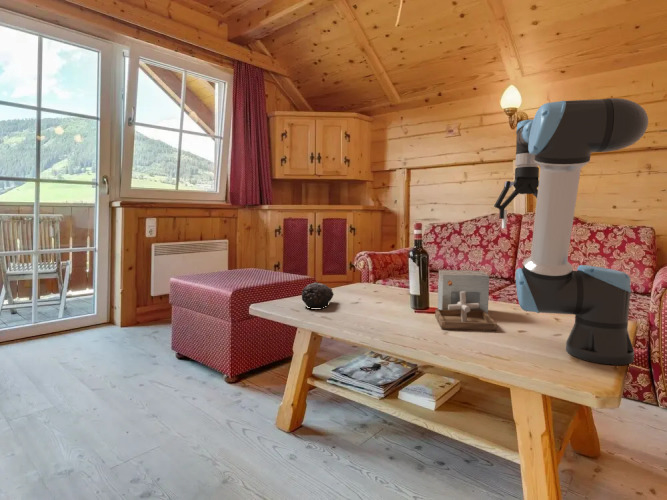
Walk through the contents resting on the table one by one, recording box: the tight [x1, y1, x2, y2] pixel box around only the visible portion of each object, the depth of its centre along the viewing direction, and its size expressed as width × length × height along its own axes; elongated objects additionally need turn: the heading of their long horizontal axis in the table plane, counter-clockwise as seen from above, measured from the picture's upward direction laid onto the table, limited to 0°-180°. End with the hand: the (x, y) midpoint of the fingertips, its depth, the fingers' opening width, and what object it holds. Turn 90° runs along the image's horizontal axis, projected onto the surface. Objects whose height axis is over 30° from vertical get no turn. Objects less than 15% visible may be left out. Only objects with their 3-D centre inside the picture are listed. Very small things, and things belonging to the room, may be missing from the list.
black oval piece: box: [301, 282, 334, 308], centre depth 164 cm, size 10×18×10 cm, turn 164°
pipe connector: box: [448, 292, 479, 322], centre depth 139 cm, size 10×10×10 cm
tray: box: [434, 308, 498, 333], centre depth 139 cm, size 17×17×2 cm
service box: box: [437, 269, 490, 315], centre depth 153 cm, size 13×16×15 cm
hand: (524, 228), depth 144 cm, fingers open, 13 cm apart
